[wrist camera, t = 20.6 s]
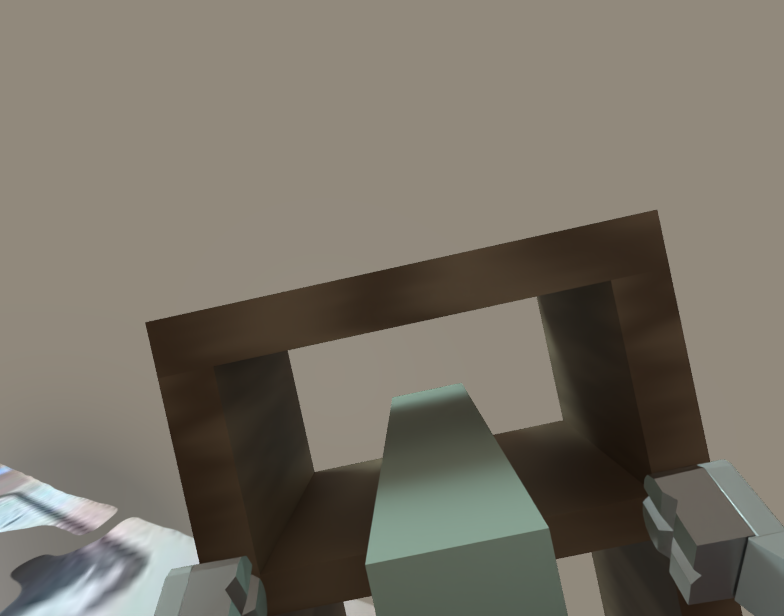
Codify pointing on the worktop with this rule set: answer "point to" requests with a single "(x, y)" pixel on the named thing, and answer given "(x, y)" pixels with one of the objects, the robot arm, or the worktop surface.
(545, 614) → the pale green bar
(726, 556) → the robot arm
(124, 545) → the worktop surface
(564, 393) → the walnut shelf
